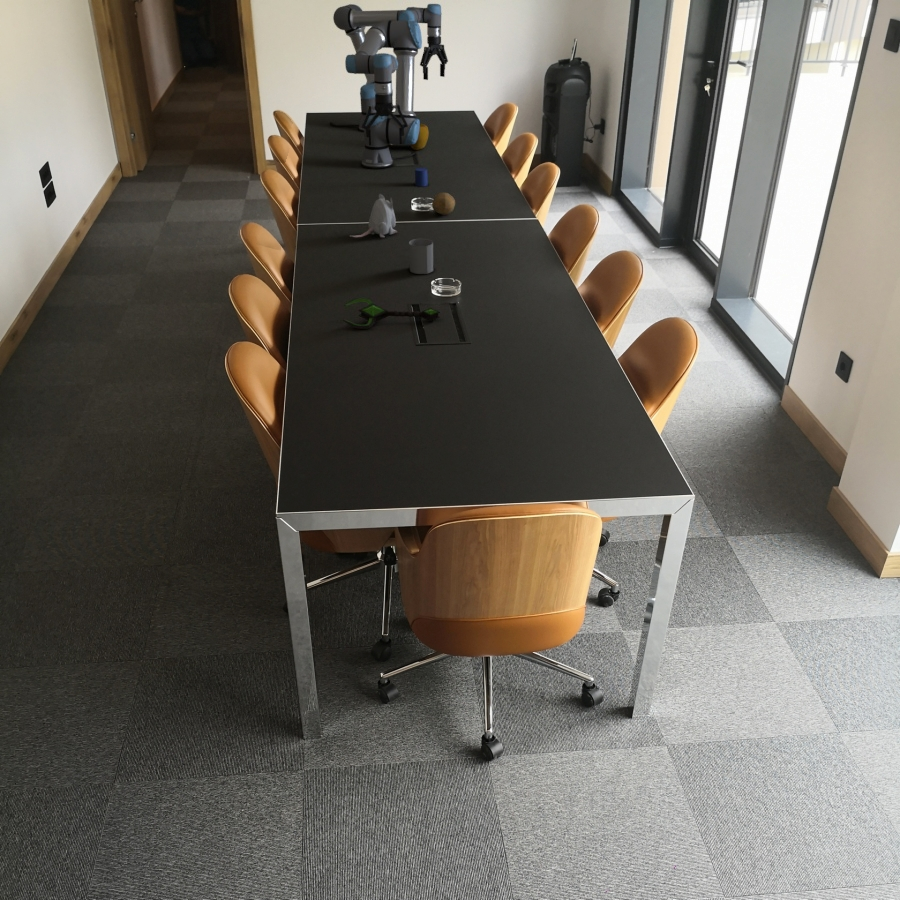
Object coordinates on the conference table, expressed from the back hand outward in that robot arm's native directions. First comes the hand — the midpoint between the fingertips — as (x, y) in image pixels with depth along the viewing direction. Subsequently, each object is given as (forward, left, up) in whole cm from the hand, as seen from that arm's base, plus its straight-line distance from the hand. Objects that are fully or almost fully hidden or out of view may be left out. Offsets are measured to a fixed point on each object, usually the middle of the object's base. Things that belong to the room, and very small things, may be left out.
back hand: (434, 78), depth 481 cm
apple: (+25, -42, -27) cm, 56 cm away
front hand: (+61, -105, -8) cm, 122 cm away
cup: (+140, -172, -27) cm, 224 cm away
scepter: (+162, -212, -27) cm, 268 cm away
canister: (+69, -91, -27) cm, 117 cm away
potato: (+105, -118, -27) cm, 160 cm away
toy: (+103, -159, -27) cm, 191 cm away
